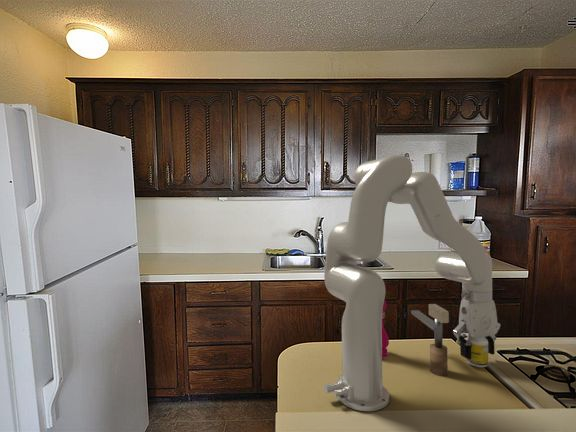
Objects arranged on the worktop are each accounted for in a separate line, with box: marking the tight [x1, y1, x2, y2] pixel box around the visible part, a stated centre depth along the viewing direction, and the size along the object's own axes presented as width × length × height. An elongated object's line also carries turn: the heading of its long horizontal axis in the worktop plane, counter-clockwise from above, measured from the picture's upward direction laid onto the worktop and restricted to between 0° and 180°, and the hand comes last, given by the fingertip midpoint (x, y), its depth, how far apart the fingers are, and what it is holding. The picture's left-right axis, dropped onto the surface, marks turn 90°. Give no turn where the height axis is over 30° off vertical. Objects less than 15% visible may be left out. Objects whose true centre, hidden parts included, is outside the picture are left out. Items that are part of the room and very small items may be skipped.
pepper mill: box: [382, 299, 390, 360], centre depth 100 cm, size 7×7×20 cm
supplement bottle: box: [466, 337, 489, 368], centre depth 93 cm, size 5×5×10 cm
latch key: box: [410, 303, 450, 347], centre depth 95 cm, size 18×2×11 cm, turn 3°
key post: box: [429, 343, 449, 377], centre depth 89 cm, size 4×4×7 cm
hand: (477, 354), depth 93 cm, fingers open, 8 cm apart
